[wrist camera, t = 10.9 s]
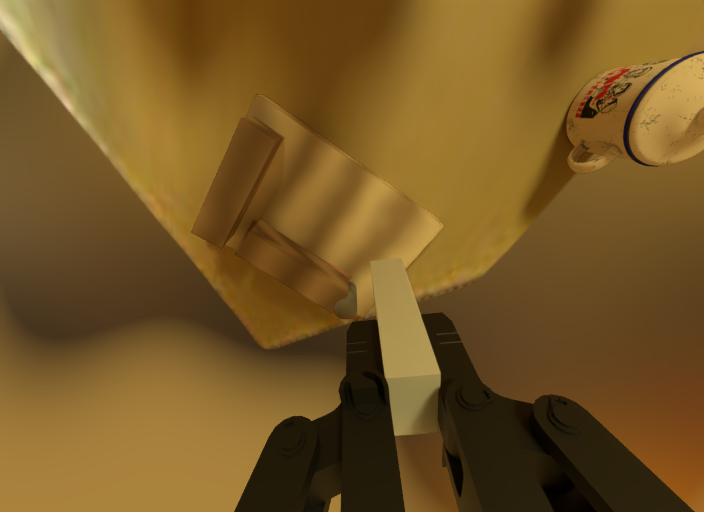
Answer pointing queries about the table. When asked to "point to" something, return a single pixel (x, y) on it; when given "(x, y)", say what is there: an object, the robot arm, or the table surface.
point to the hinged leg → (299, 270)
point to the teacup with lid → (640, 114)
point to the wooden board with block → (311, 199)
